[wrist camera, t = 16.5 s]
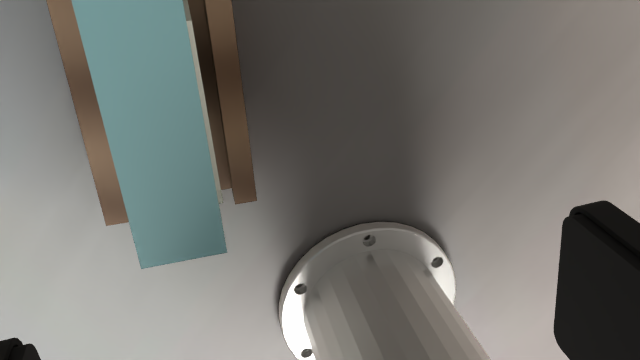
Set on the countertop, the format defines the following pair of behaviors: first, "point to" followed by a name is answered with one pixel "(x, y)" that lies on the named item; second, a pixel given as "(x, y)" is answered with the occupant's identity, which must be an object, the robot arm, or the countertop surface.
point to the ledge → (219, 89)
